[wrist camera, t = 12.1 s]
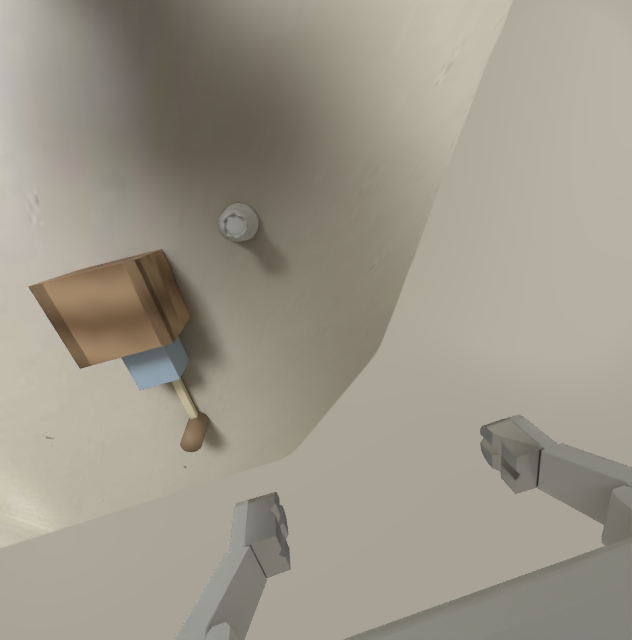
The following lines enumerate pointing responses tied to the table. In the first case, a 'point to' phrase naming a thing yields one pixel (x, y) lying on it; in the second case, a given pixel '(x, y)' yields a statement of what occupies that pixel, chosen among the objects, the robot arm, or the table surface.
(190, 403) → the block with stick handle
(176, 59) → the table surface
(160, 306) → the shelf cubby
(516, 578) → the robot arm
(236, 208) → the rook chess piece
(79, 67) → the table surface
